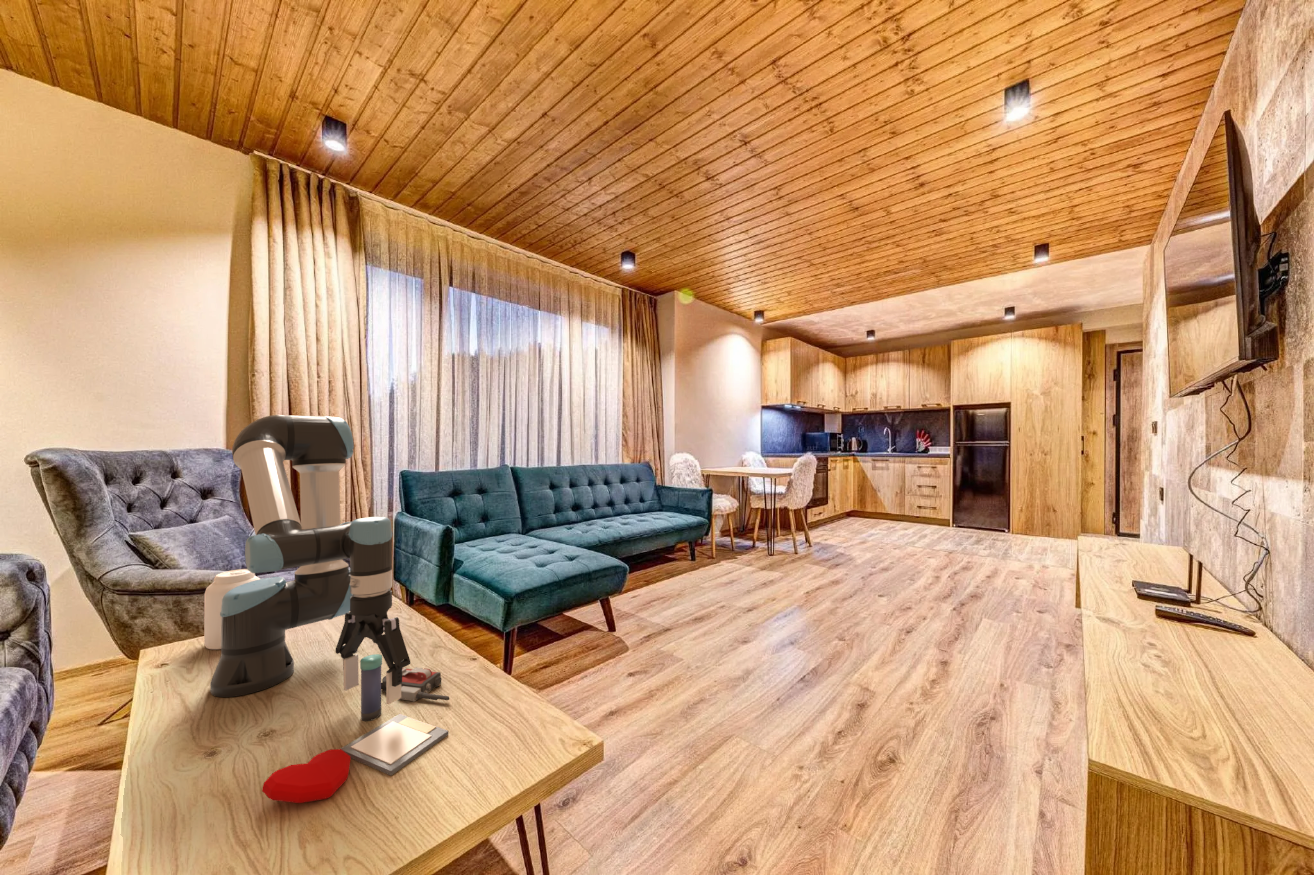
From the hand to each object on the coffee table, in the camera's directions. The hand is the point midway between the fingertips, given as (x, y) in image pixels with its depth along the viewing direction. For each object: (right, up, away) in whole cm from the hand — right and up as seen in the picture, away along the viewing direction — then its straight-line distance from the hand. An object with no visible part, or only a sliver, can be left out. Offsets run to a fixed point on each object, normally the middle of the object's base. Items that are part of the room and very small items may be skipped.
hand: (371, 694), depth 96 cm
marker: (0, -5, 0) cm, 5 cm away
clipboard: (+10, -5, -9) cm, 14 cm away
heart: (+3, -5, -20) cm, 21 cm away
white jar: (-63, -5, +37) cm, 73 cm away
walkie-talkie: (+5, -5, +10) cm, 12 cm away
